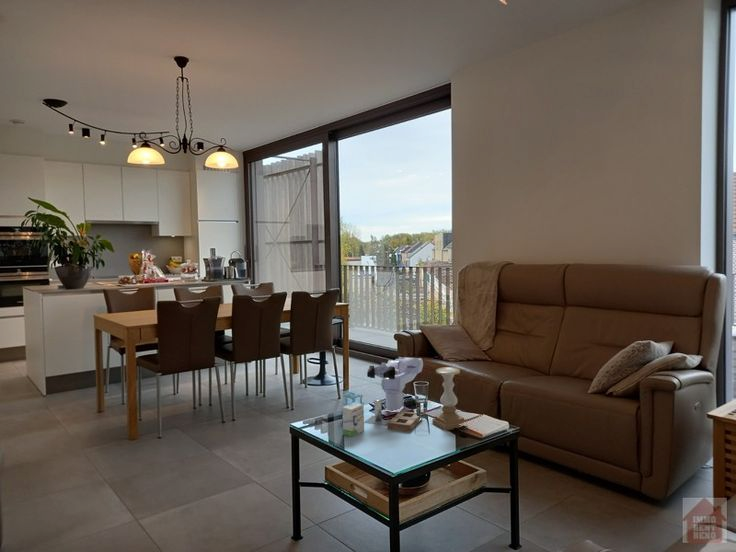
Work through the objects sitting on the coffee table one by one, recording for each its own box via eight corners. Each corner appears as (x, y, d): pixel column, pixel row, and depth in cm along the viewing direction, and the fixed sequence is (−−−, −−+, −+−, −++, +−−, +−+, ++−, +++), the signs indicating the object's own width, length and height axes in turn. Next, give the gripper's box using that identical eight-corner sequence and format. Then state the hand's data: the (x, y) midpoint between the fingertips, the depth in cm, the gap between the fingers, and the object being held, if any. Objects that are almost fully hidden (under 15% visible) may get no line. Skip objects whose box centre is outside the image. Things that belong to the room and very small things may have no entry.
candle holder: (431, 423, 231) (430, 368, 229) (453, 418, 235) (451, 365, 234) (445, 430, 221) (444, 374, 219) (467, 426, 225) (466, 370, 224)
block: (400, 417, 239) (400, 411, 239) (422, 419, 235) (421, 413, 235) (387, 429, 225) (387, 422, 225) (409, 432, 221) (409, 425, 220)
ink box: (355, 428, 227) (354, 401, 227) (365, 431, 224) (364, 403, 223) (342, 435, 221) (341, 407, 220) (352, 437, 217) (351, 409, 217)
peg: (376, 418, 238) (376, 399, 238) (382, 419, 237) (382, 399, 236) (374, 420, 235) (373, 401, 235) (380, 421, 234) (379, 401, 234)
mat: (372, 416, 243) (372, 415, 243) (393, 418, 239) (393, 417, 239) (363, 423, 234) (363, 422, 234) (384, 425, 230) (384, 425, 230)
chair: (366, 417, 241) (365, 391, 240) (353, 422, 235) (352, 395, 235) (355, 414, 247) (354, 388, 246) (341, 418, 241) (340, 392, 240)
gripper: (373, 360, 247) (360, 365, 235) (402, 361, 241) (391, 366, 229) (373, 375, 247) (361, 380, 235) (402, 377, 241) (391, 382, 229)
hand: (376, 374), depth 232 cm, fingers open, 7 cm apart
